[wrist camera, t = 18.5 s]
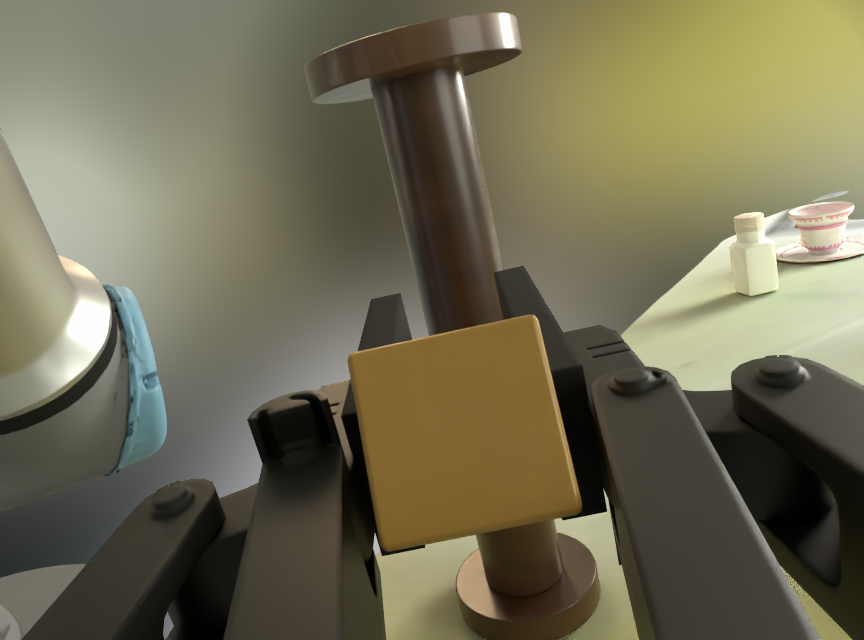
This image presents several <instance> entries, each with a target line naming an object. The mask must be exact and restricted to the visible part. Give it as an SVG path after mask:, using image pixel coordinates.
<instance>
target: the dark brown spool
mask: <svg viewBox="0 0 864 640" xmlns="http://www.w3.org/2000/svg"><path fill="white" fill-rule="evenodd" d="M521 52H522V46H521V41H520V35H519V30H518V24H517V19H516V17H515V16H514V15H512V14H509V13H500V12H489V13H488V12H487V13H476V14H466V15H459V16H453V17H446V18H441V19H436V20H431V21H426V22H421V23H416V24H413V25H408V26H404V27H400V28H396V29H393V30H388V31H385V32H381V33H378V34H374V35H371V36H368V37H365V38H362V39H358V40H356V41H352V42H350V43H347V44H344V45H342V46H339V47H336V48H334V49H331V50H329V51H327V52H325V53H323V54H321V55H319V56H317V57H315V58H314V59H312V60H311V61H309V62H308V63H307V64H306V65H305V67H304V71H305V75H306V78H307V82H308V86H309V90H310V94H311V98H312V101H313V102H314V103H319V104H333V103H343V102H351V101H358V100H364V99H370V98H373V99H374V104H375V108H376V112H377V116H378V121H379V124H380V129H381V133H382V138H383V142H384V146H385V150H386V155H387V158H388V163H389V167H390V172H391V176H392V180H393V184H394V189H395V193H396V197H397V201H398V206H399V210H400V214H401V218H402V222H403V227H404V231H405V235H406V239H407V244H408V248H409V252H410V257H411V261H412V265H413V269H414V274H415V278H416V282H417V286H418V291H419V295H420V299H421V303H422V307H423V312H424V316H425V320H426V325H427V328H428V333H429V336H432V335H437V334H441V333H446V332H451V331H455V330H460V329H464V328H469V327H474V326H478V325H483V324H488V323H492V322H497V321H501V320H503V316H502V311H501V306H500V301H499V296H498V291H497V286H496V281H495V276H494V272H498V271H502V270H504V269H503V264H502V259H501V255H500V250H499V245H498V240H497V235H496V230H495V225H494V220H493V215H492V210H491V205H490V200H489V196H488V190H487V185H486V180H485V175H484V171H483V166H482V160H481V155H480V150H479V146H478V141H477V136H476V131H475V126H474V121H473V116H472V111H471V106H470V101H469V96H468V91H467V87H466V81H465V76H467V75H470V74H473V73H476V72H479V71H482V70H486V69H488V68H491V67H494V66H497V65H499V64H502V63H504V62H507V61H509V60H511V59H513V58H515V57H517V56H518V55H520V53H521ZM476 537H477V541H478V546H479V548H478V549H477V550H476V551H474V552H473V553H472V554H471V555H470V556H469V557H468V558H467V559H466V560H465V561H464V563H463V564H462V566H461V567H460V569H459V571H458V574H457V578H456V591H457V595H458V599H459V603H460V607H461V611H462V615H463V617H464V619H465V621H466V622H467V623H468V625H469V626H470V627H471V628H472V629H473V630H474V631H475V632H477V633H478V634H480V635H481V636H483V637H485V638H487V639H490V640H554V639H557V638H559V637H562V636H564V635H566V634H568V633H570V632H572V631H574V630H575V629H576V628H578V627H579V626H581V625H582V624H583V623H584V622H585V621H586V620H587V619H588V618H589V617H590V616H591V615H592V613H593V612H594V610H595V608H596V607H597V604H598V602H599V598H600V582H599V577H598V572H597V567H596V562H595V559H594V557H593V555H592V553H591V552H590V550H589V549H588V548H587V547H586V546H585V545H584V544H582V543H581V542H580V541H578V540H576V539H574V538H572V537H570V536H567V535H564V534H561V533H557V532H556V527H555V522H554V519H552V520H547V521H542V522H537V523H532V524H527V525H522V526H517V527H511V528H506V529H501V530H496V531H491V532H486V533H481V534H476Z"/></svg>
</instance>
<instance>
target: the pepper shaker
mask: <svg viewBox="0 0 864 640" xmlns="http://www.w3.org/2000/svg"><path fill="white" fill-rule="evenodd" d="M734 224H735V232H736V234H737V242H735V243H733V244H732V245H731V246H730V256H731V264H732V273H733V282H734V288H735V290H736V291H737V292H740V293H743V294H746V295H748V296H754V295H758V294H763V293H767V292H771V291H775V290H777V289H778V288H779V281H778V271H777V261H776V251H775V243H774V241H772V240H770V239H768V238H765V233H764V229H765V224H764V215H763V213H761V212H760V213H759V212H754V213H746V214H741V215H738V216H736V217H734Z"/></svg>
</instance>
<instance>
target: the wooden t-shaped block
mask: <svg viewBox="0 0 864 640" xmlns="http://www.w3.org/2000/svg"><path fill="white" fill-rule="evenodd" d="M348 367H349V372H350V377H351V384H352V390H353V395H354V401H355V407H356V412H357V418H358V424H359V429H360V435H361V441H362V447H363V452H364V458H365V464H366V469H367V475H368V481H369V486H370V492H371V498H372V504H373V509H374V515H375V521H376V526H377V532H378V538H379V544H380V546H381V548H382V549H383V550H384V551H388V552H390V551H395V550H400V549H405V548H410V547H415V546H420V545H425V544H431V543H436V542H441V541H446V540H451V539H456V538H461V537H466V536H471V535H476V534H481V533H486V532H491V531H496V530H501V529H506V528H511V527H517V526H522V525H527V524H532V523H537V522H542V521H547V520H552V519H557V518H562V517H567V516H572V515H577V514H578V513H579V512H581V511H582V501H581V497H580V492H579V488H578V484H577V480H576V476H575V472H574V467H573V463H572V459H571V455H570V451H569V446H568V442H567V438H566V434H565V430H564V425H563V421H562V417H561V413H560V409H559V405H558V400H557V396H556V392H555V388H554V384H553V379H552V375H551V371H550V367H549V363H548V359H547V354H546V350H545V346H544V342H543V338H542V333H541V329H540V325H539V321H538V319H537V318H536V316H535V315H525V316H520V317H515V318H511V319H506V320H501V321H497V322H492V323H488V324H483V325H478V326H474V327H469V328H464V329H460V330H455V331H451V332H446V333H441V334H437V335H432V336H427V337H423V338H419V339H414V340H409V341H404V342H400V343H395V344H390V345H386V346H381V347H377V348H372V349H367V350H363V351H358V352H354V353H352V354H351V355H349V358H348Z"/></svg>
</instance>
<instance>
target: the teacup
mask: <svg viewBox="0 0 864 640" xmlns="http://www.w3.org/2000/svg"><path fill="white" fill-rule="evenodd" d="M853 210H854V204H853V203H850V202H825V203H816V204H811V205H805V206H801V207H798V208H795V209H792V210H791V211H789V213H788V216H789V218H790V219H791V220H792V221H794V222H795V223H796V226H795V227H796V228H798V229H799V231H800V236H801V242H799V243H795V244H791V245H788V246H785V247H782V248H780V249H778V250H777V251H776V259H777V260H780V261H786V262H820V261H830V260H837V259H842V258H848V257H852V256H856V255H859V254H863V253H864V239H863V238H851V237H846V234H845V225H846V223H847V221H848V216H849V215H850V214H851V212H852V211H853Z"/></svg>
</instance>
